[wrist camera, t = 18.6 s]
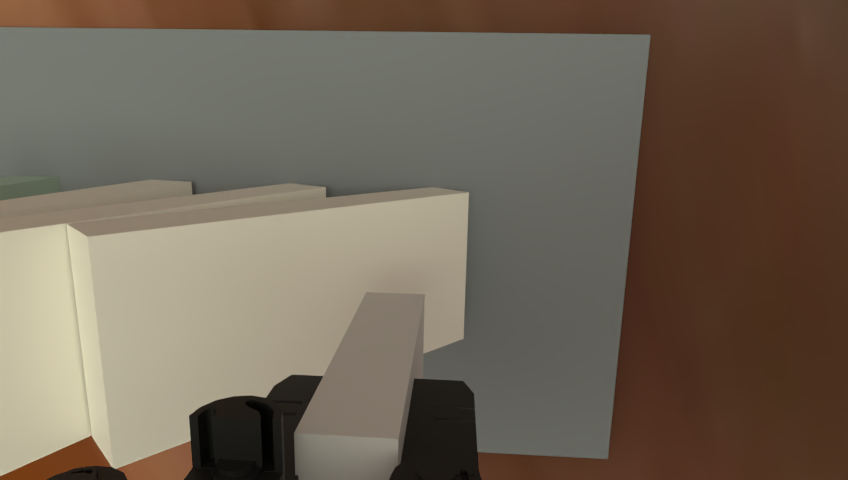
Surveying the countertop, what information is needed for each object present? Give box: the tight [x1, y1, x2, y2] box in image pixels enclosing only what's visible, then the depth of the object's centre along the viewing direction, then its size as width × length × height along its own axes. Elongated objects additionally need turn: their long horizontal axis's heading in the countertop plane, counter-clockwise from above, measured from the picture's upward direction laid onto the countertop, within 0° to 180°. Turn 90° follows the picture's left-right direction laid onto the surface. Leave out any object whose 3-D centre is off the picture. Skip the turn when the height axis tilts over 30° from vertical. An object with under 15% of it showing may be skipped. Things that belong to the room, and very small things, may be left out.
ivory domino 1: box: [0, 179, 192, 218], centre depth 18 cm, size 6×2×13 cm, turn 179°
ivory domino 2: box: [0, 183, 326, 476], centre depth 18 cm, size 6×2×13 cm, turn 179°
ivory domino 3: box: [67, 187, 469, 469], centre depth 19 cm, size 6×2×13 cm
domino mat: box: [0, 27, 650, 459], centre depth 25 cm, size 18×38×1 cm, turn 89°
